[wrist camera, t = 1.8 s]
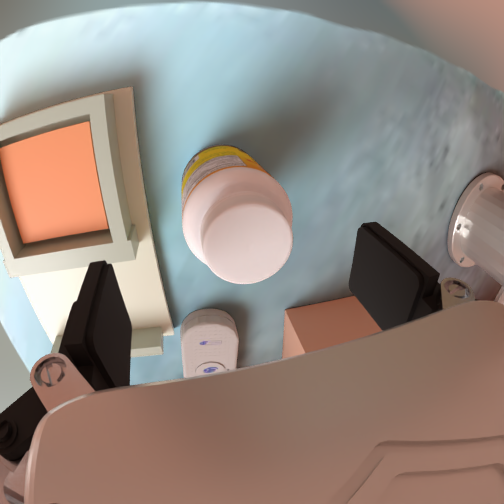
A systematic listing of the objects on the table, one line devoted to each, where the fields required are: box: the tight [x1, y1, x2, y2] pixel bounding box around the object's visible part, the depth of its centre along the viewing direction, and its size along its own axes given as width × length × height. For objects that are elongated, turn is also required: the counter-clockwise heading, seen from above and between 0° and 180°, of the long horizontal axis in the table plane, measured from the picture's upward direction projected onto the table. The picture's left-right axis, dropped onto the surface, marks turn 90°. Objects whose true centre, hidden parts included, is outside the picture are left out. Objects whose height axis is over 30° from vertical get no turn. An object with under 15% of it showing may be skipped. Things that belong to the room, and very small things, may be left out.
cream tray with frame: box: [0, 87, 174, 357], centre depth 20 cm, size 13×21×3 cm, turn 2°
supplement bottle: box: [182, 145, 293, 284], centre depth 17 cm, size 6×6×10 cm
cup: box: [282, 296, 382, 359], centre depth 30 cm, size 10×10×6 cm
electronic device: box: [180, 309, 239, 378], centre depth 27 cm, size 5×10×15 cm
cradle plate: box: [0, 121, 109, 244], centre depth 17 cm, size 8×8×1 cm
